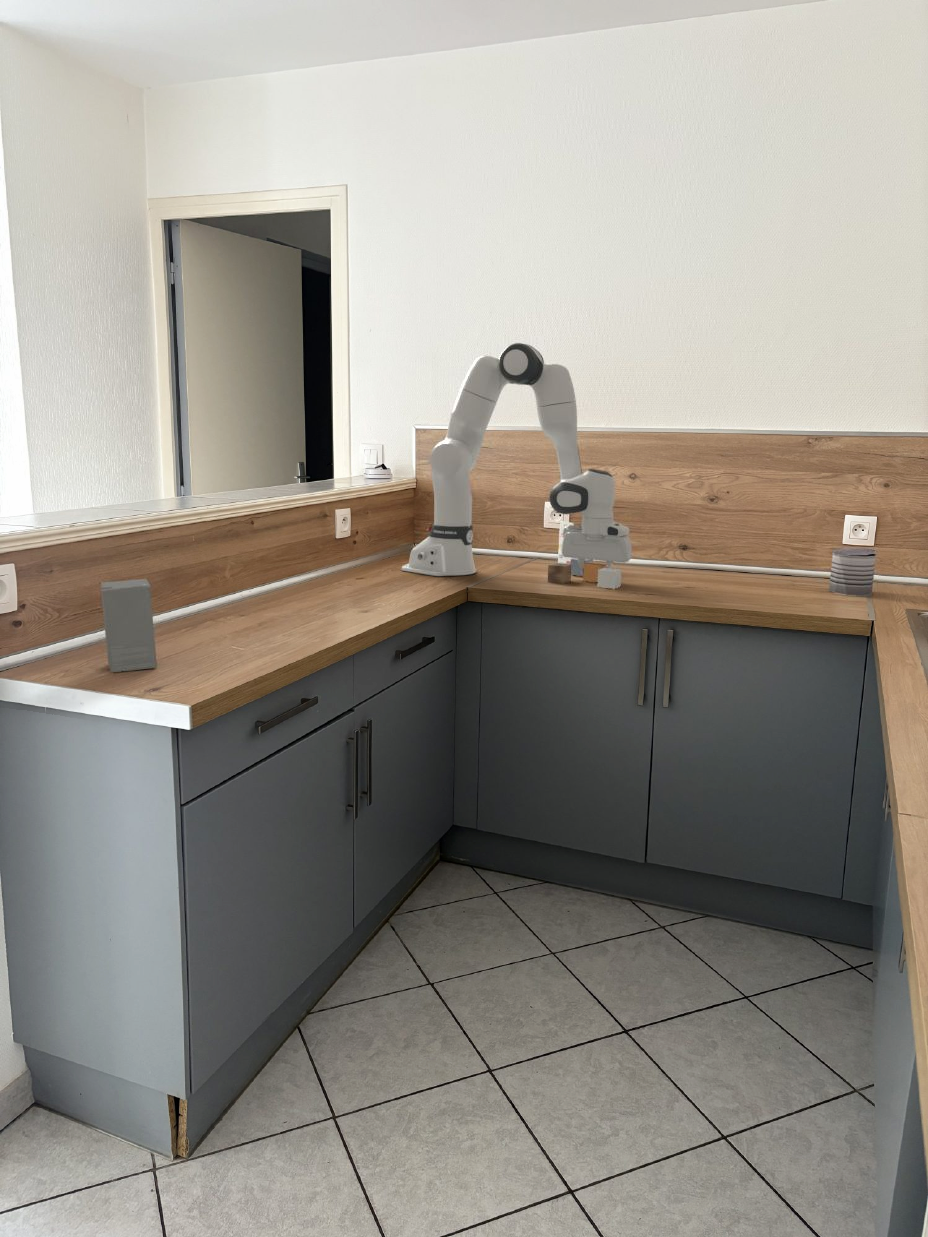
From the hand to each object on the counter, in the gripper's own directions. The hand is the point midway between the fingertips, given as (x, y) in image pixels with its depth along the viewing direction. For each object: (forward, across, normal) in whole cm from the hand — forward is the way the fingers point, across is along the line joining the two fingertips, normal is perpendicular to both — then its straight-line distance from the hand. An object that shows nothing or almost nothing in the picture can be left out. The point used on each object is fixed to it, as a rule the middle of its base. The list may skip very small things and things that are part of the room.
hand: (594, 575), depth 270 cm
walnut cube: (+2, -8, -7) cm, 11 cm away
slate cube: (+2, -7, +7) cm, 10 cm away
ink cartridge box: (+2, -14, +16) cm, 21 cm away
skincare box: (+2, -37, -136) cm, 141 cm away
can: (+2, +66, +24) cm, 70 cm away
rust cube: (+2, 0, 0) cm, 2 cm away
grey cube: (+2, +7, -7) cm, 10 cm away
